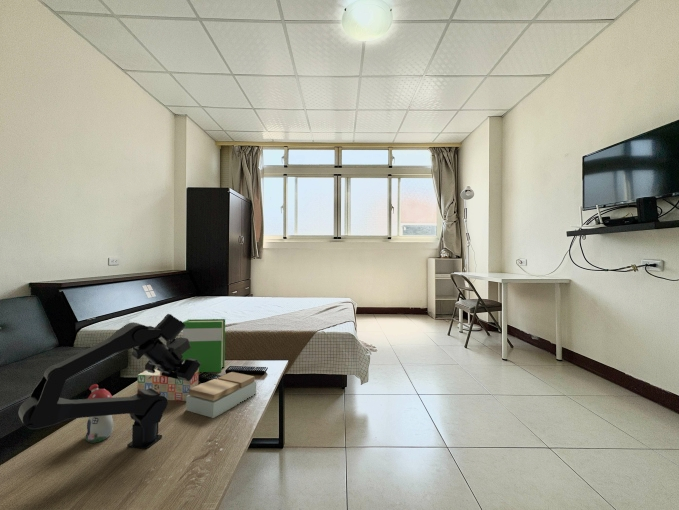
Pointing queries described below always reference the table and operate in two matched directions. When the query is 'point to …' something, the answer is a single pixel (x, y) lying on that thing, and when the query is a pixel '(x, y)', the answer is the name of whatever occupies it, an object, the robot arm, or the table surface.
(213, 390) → the board
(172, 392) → the stack of blocks
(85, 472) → the table surface
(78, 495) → the table surface
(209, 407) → the white box
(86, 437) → the decorative ornament
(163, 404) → the robot arm
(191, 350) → the hardback book
